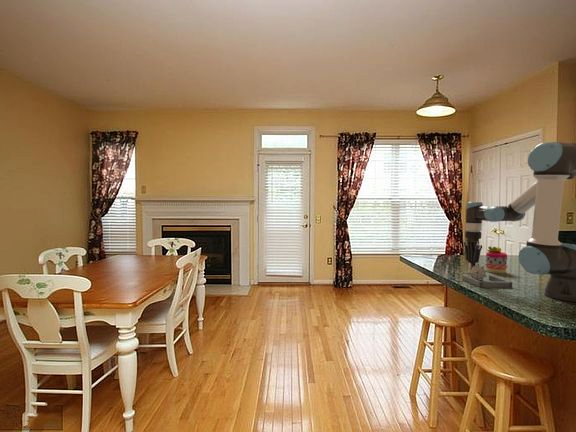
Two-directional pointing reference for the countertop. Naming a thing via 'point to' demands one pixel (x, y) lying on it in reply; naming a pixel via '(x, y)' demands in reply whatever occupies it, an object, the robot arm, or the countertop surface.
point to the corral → (496, 282)
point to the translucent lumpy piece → (477, 272)
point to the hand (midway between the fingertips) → (471, 274)
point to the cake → (496, 260)
